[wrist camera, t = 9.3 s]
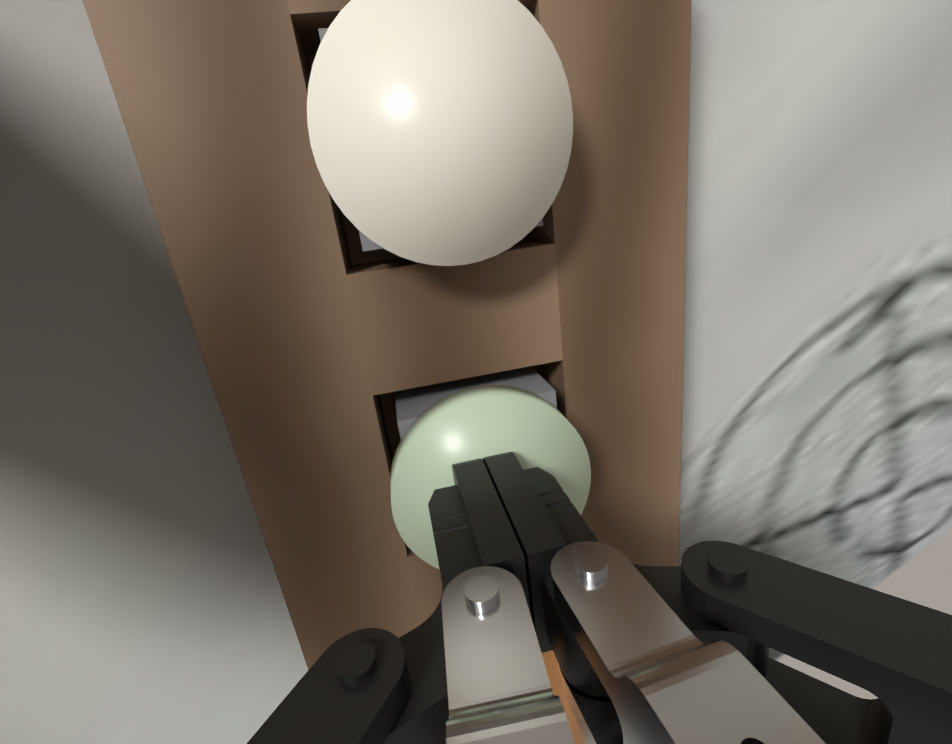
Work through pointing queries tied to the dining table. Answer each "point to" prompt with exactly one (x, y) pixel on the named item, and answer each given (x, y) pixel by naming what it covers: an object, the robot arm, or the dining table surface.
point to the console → (410, 285)
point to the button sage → (478, 442)
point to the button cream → (440, 125)
